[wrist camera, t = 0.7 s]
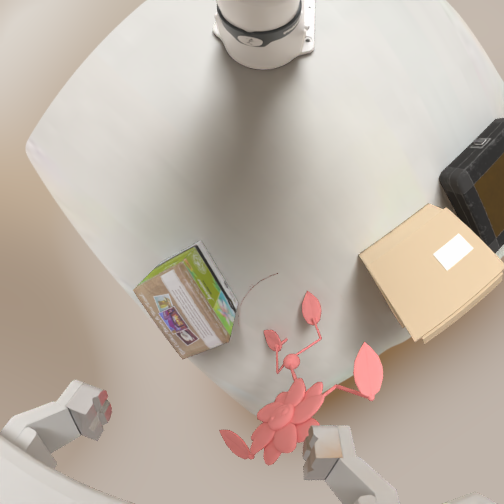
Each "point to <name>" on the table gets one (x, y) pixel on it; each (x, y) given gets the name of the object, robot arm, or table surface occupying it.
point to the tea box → (189, 301)
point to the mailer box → (397, 242)
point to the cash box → (480, 185)
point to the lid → (437, 275)
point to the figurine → (300, 397)
